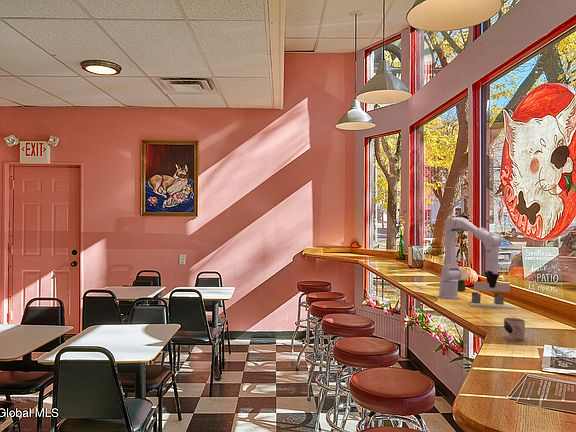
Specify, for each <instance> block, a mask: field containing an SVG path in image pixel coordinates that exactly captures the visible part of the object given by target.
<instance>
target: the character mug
mask: <svg viewBox="0 0 576 432" xmlns="http://www.w3.org/2000/svg"><path fill="white" fill-rule="evenodd" d="M467 270H468V269H466V268H460V272H461V278H460V279H459V281H458V291H466V290H467V289H466V282H465V281H466V280H467V279H469V278H471V273H470V272H469V271H467Z"/></svg>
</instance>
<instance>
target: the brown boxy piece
mask: <svg viewBox="0 0 576 432" xmlns="http://www.w3.org/2000/svg"><path fill="white" fill-rule="evenodd" d="M481 299H482V298H481V294H480V293H479V292H474V291H473V292H471V303H481Z"/></svg>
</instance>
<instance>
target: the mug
mask: <svg viewBox="0 0 576 432" xmlns="http://www.w3.org/2000/svg"><path fill="white" fill-rule="evenodd" d="M503 322H504V323H503V338H504V339H506V340H510V341H518V342H519V341H520V342H522V341H525V331H526V329H525V327H526V326H525V325H526V321H525V320H524V319H522V318H516V317H505V318H504V319H503Z"/></svg>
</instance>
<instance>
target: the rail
mask: <svg viewBox="0 0 576 432" xmlns="http://www.w3.org/2000/svg"><path fill="white" fill-rule="evenodd" d="M473 290H474V291H479V292H480V291H481V292H499V293H500V292H503V293H510V292H511V283H509V282H496V286H495V288H490V284H489V282H487V281H473Z"/></svg>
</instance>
